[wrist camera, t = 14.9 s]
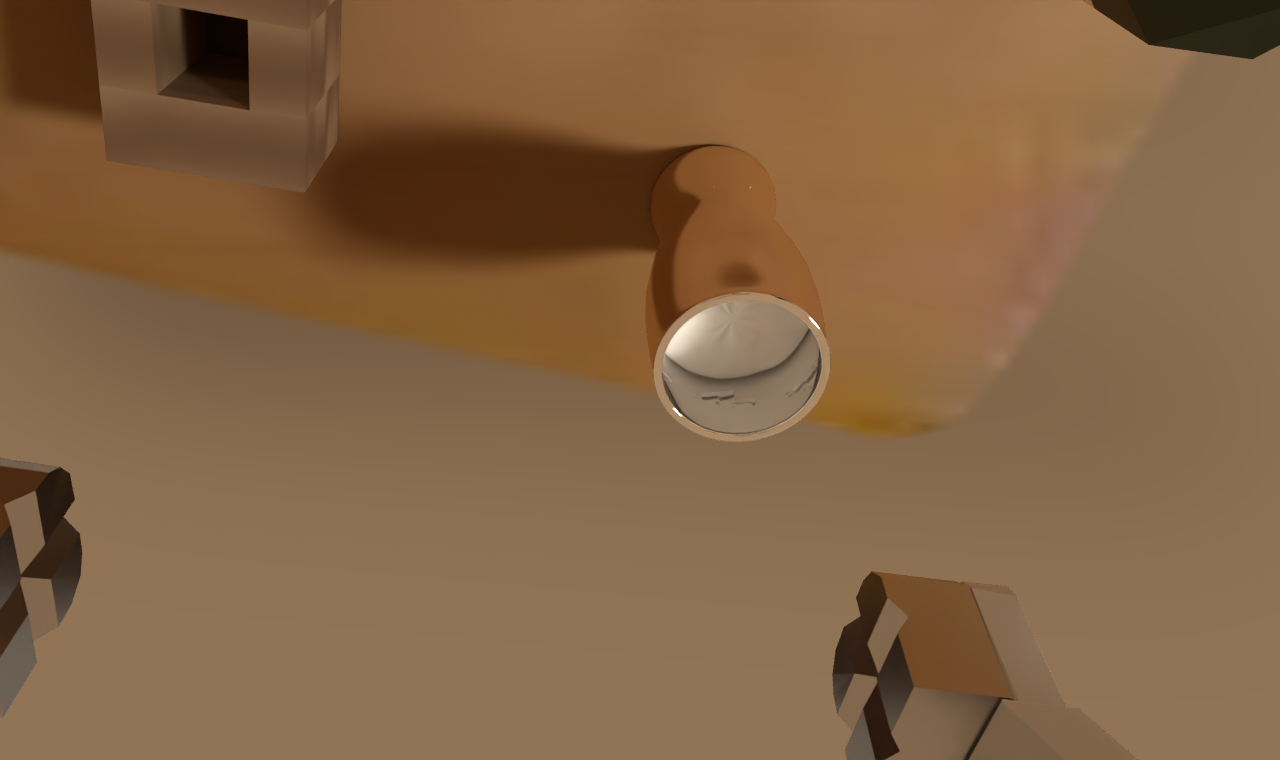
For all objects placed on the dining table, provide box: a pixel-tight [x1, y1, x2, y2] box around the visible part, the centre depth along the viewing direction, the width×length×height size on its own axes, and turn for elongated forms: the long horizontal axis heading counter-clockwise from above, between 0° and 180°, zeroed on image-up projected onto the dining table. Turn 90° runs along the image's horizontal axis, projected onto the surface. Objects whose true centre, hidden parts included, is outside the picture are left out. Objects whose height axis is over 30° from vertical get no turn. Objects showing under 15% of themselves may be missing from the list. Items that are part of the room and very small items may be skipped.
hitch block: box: [91, 0, 341, 193], centre depth 43 cm, size 10×8×6 cm
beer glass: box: [645, 146, 831, 442], centre depth 45 cm, size 7×7×15 cm
